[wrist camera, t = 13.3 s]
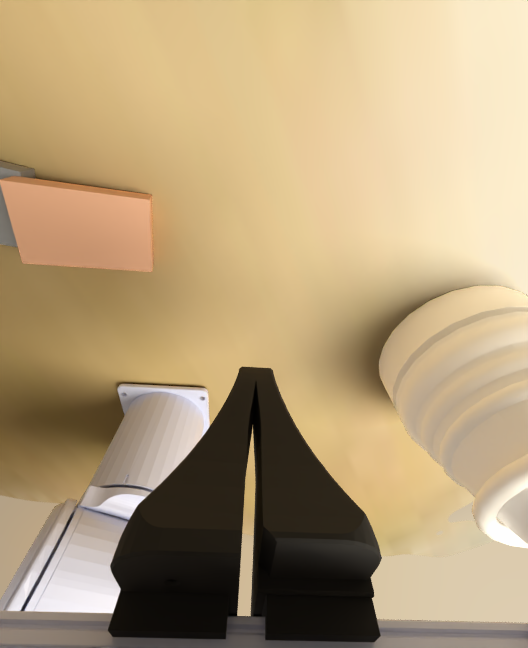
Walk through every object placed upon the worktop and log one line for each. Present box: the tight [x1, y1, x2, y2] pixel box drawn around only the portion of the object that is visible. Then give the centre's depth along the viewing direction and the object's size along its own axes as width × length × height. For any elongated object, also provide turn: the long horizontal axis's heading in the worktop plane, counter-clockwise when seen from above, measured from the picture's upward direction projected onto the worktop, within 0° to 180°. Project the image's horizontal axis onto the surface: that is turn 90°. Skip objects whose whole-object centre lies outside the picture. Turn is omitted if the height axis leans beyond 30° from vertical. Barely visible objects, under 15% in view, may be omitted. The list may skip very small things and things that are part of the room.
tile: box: [0, 176, 154, 272], centre depth 17 cm, size 4×2×7 cm
